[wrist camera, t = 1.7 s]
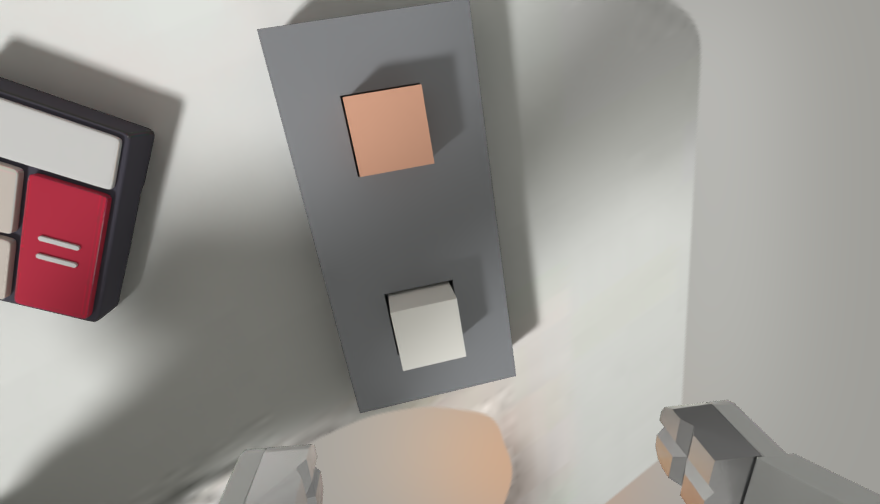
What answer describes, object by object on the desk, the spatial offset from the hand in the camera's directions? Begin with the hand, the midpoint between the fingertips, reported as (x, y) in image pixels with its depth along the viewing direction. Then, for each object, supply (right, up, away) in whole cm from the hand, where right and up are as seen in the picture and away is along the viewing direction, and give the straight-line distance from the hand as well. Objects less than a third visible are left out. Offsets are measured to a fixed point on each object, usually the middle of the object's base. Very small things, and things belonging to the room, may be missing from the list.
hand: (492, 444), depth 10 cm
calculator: (-30, +8, +23) cm, 39 cm away
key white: (-3, -1, +26) cm, 26 cm away
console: (-4, +7, +26) cm, 28 cm away
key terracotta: (-5, +13, +21) cm, 26 cm away
